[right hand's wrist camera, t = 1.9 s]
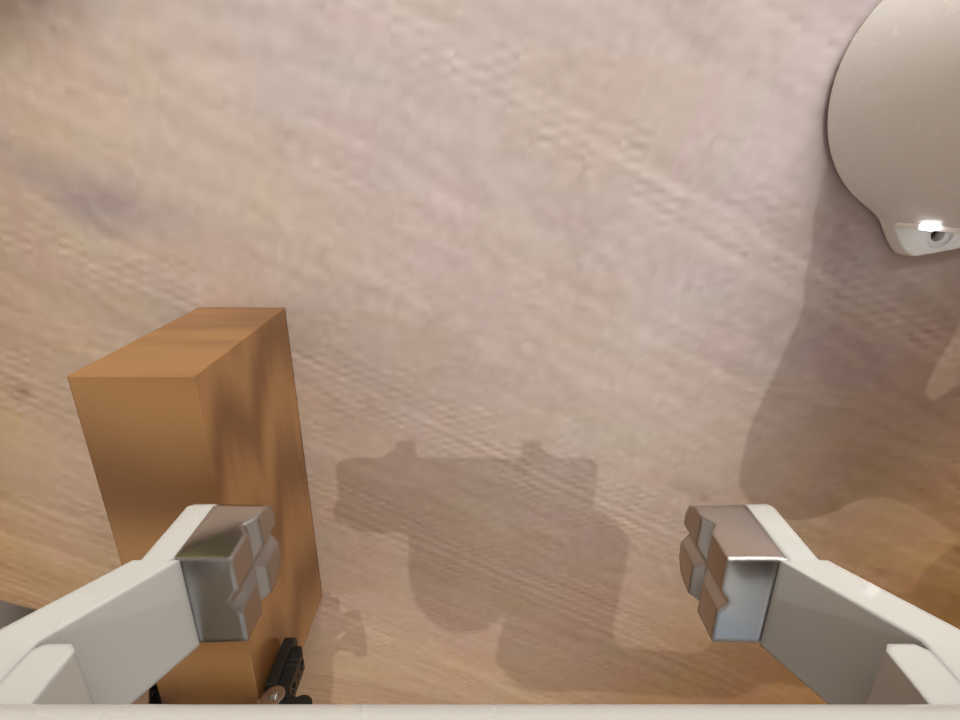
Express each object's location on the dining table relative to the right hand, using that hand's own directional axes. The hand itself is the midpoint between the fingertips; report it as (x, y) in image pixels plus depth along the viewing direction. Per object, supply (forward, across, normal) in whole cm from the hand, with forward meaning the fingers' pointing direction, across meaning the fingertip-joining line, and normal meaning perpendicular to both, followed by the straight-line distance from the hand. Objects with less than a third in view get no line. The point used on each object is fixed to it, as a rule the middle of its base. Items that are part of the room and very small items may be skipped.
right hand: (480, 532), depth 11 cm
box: (+27, -16, -15) cm, 35 cm away
